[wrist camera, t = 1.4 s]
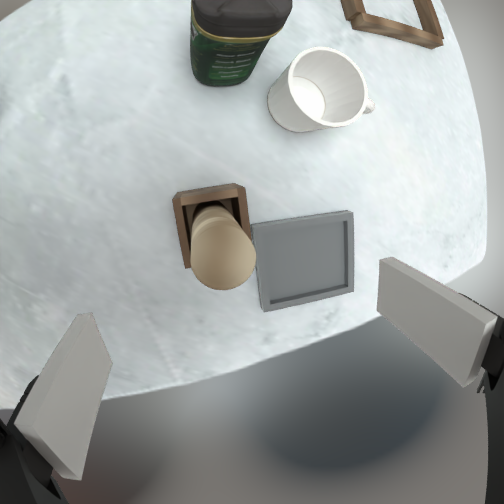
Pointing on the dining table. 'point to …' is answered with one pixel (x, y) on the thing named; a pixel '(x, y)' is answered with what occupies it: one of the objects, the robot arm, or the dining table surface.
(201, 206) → the dowel
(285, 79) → the mug
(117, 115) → the dining table surface
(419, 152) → the dining table surface
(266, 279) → the tray
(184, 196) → the pen cup
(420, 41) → the frame
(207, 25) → the coffee jar
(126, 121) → the dining table surface
